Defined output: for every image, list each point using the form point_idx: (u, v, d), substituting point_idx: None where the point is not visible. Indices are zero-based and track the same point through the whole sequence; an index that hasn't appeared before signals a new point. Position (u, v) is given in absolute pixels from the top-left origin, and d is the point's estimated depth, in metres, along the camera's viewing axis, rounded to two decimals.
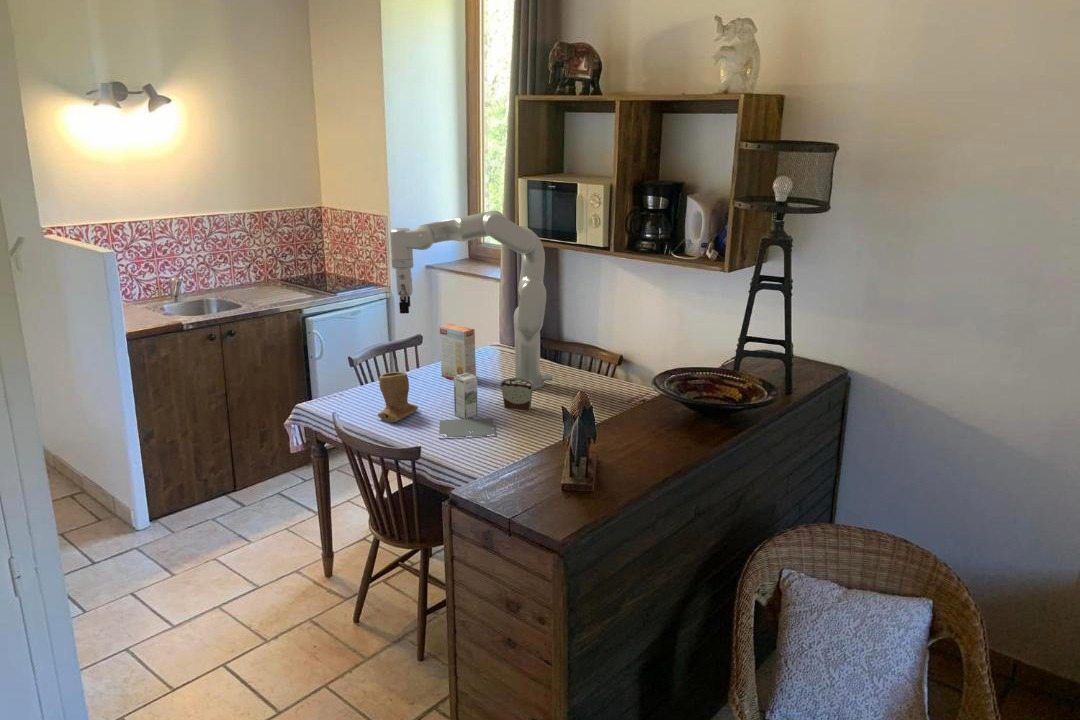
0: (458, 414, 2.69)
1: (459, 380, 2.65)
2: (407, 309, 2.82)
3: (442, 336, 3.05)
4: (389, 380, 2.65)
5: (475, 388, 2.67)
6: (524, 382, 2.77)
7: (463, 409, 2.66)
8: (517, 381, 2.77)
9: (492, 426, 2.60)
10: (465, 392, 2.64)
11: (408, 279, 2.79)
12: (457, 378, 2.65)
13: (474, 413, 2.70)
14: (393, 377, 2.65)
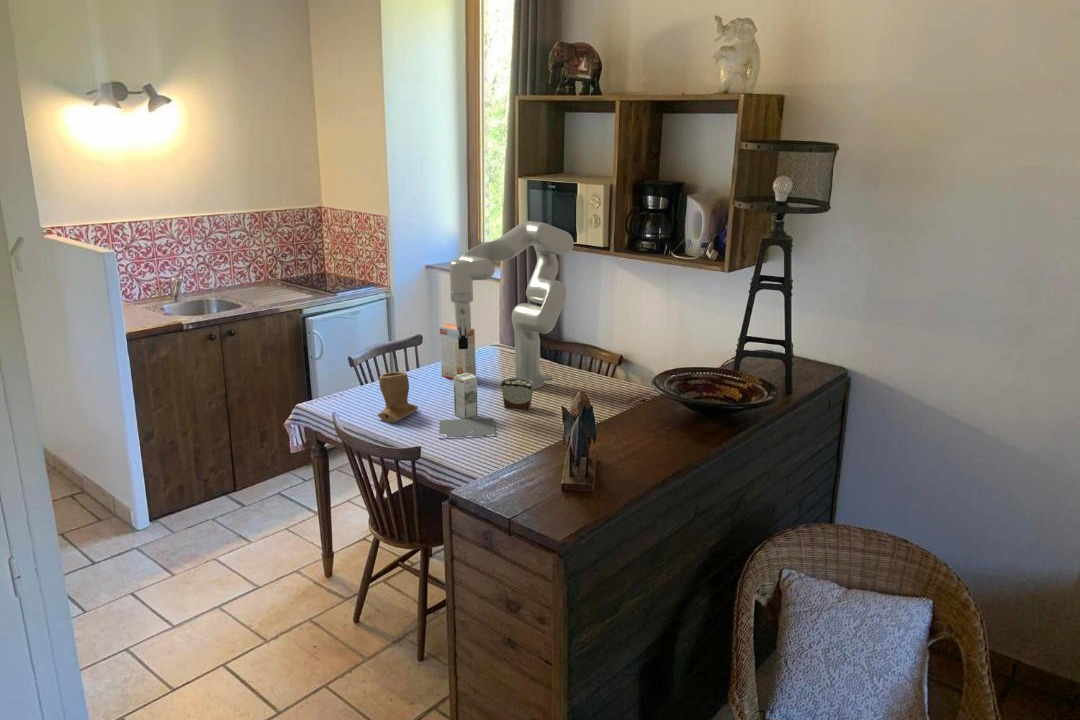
0: (458, 414, 2.69)
1: (459, 380, 2.65)
2: (466, 345, 2.72)
3: (442, 336, 3.05)
4: (389, 380, 2.65)
5: (475, 388, 2.67)
6: (524, 382, 2.77)
7: (463, 409, 2.66)
8: (517, 381, 2.77)
9: (492, 426, 2.60)
10: (465, 391, 2.64)
11: (468, 314, 2.65)
12: (457, 378, 2.65)
13: (474, 413, 2.70)
14: (393, 377, 2.65)
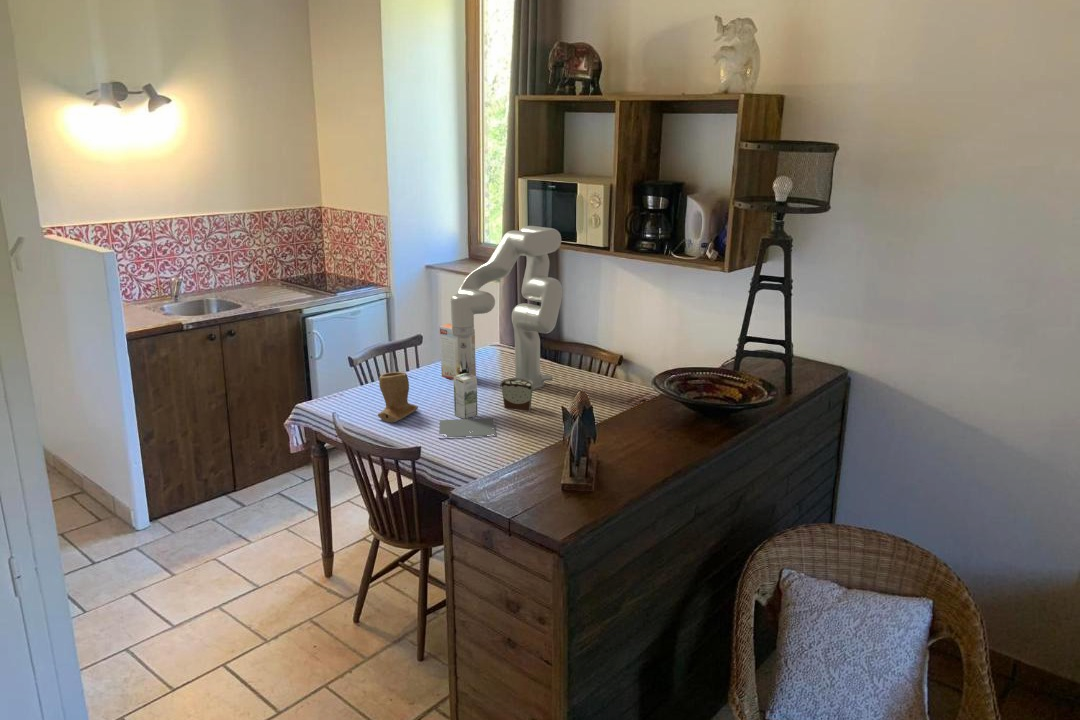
0: (458, 414, 2.69)
1: (459, 380, 2.65)
2: None
3: (442, 336, 3.05)
4: (389, 380, 2.65)
5: (475, 388, 2.67)
6: (524, 382, 2.77)
7: (463, 409, 2.66)
8: (517, 381, 2.77)
9: (492, 426, 2.60)
10: (465, 392, 2.64)
11: (469, 348, 2.65)
12: (457, 378, 2.65)
13: (474, 413, 2.70)
14: (393, 377, 2.65)
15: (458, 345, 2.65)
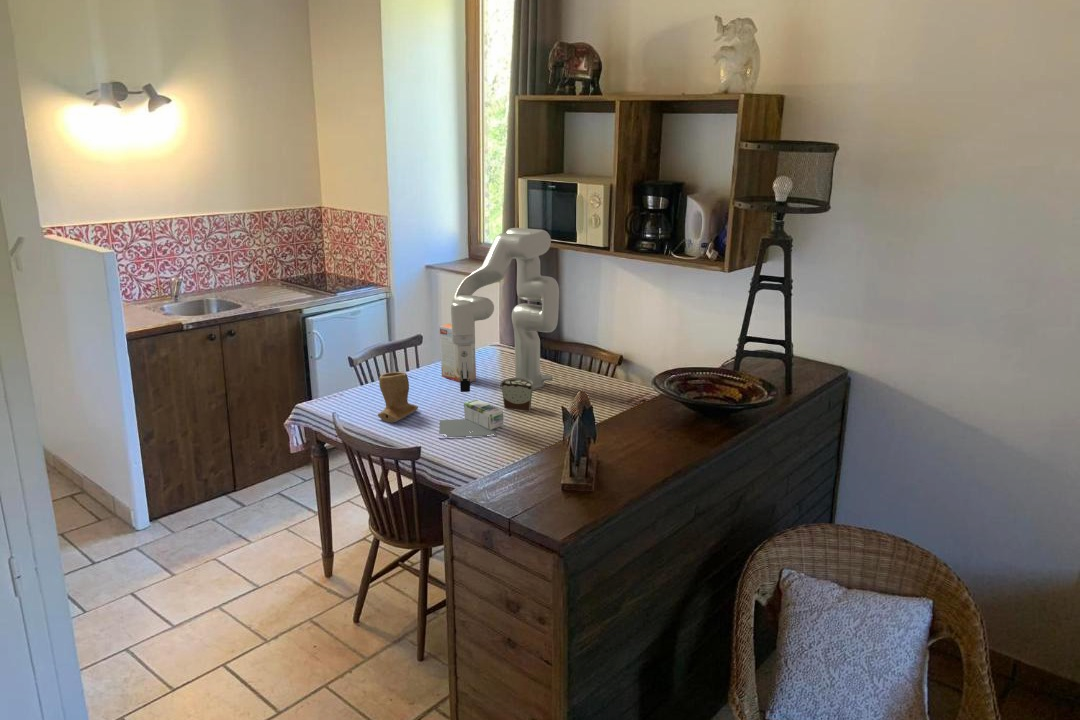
0: (465, 409, 2.65)
1: (489, 422, 2.57)
2: (468, 387, 2.63)
3: (442, 336, 3.05)
4: (389, 380, 2.65)
5: None
6: (524, 382, 2.77)
7: (471, 419, 2.64)
8: (517, 381, 2.77)
9: None
10: None
11: (470, 356, 2.56)
12: (489, 419, 2.56)
13: None
14: (393, 377, 2.65)
15: (459, 354, 2.56)
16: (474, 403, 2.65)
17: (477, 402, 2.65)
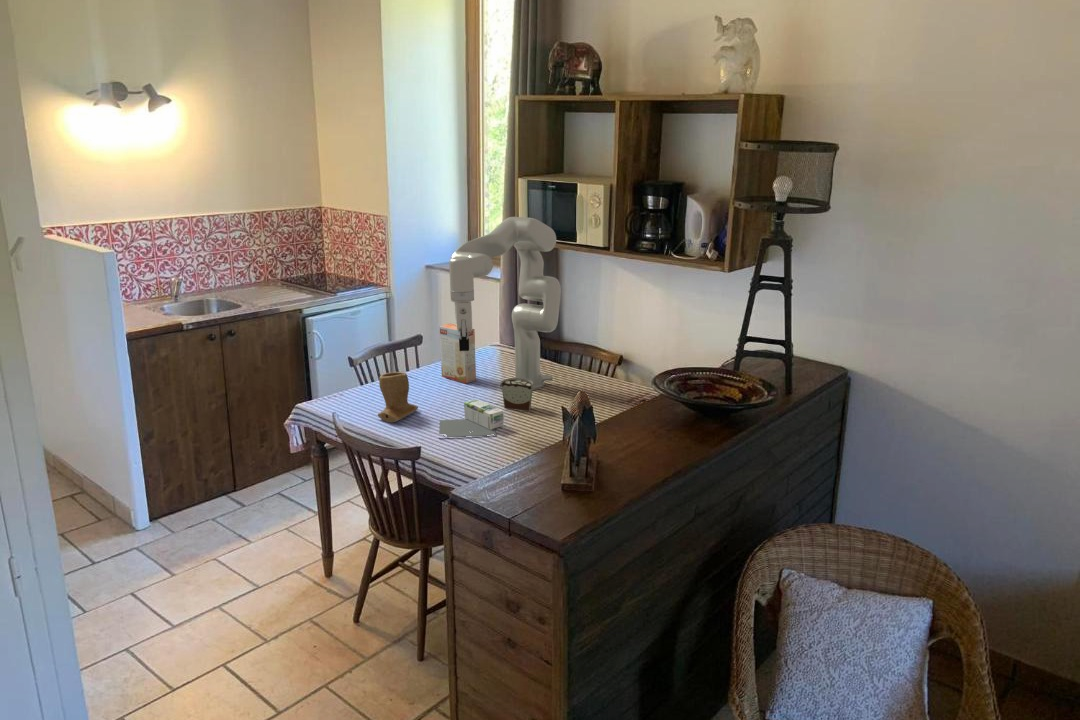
0: (465, 409, 2.65)
1: (489, 422, 2.57)
2: (467, 346, 2.58)
3: (442, 336, 3.05)
4: (389, 380, 2.65)
5: None
6: (524, 382, 2.77)
7: (471, 419, 2.64)
8: (517, 381, 2.77)
9: None
10: None
11: (469, 314, 2.51)
12: (489, 419, 2.56)
13: None
14: (393, 377, 2.65)
15: (457, 311, 2.50)
16: (475, 403, 2.65)
17: (478, 402, 2.65)
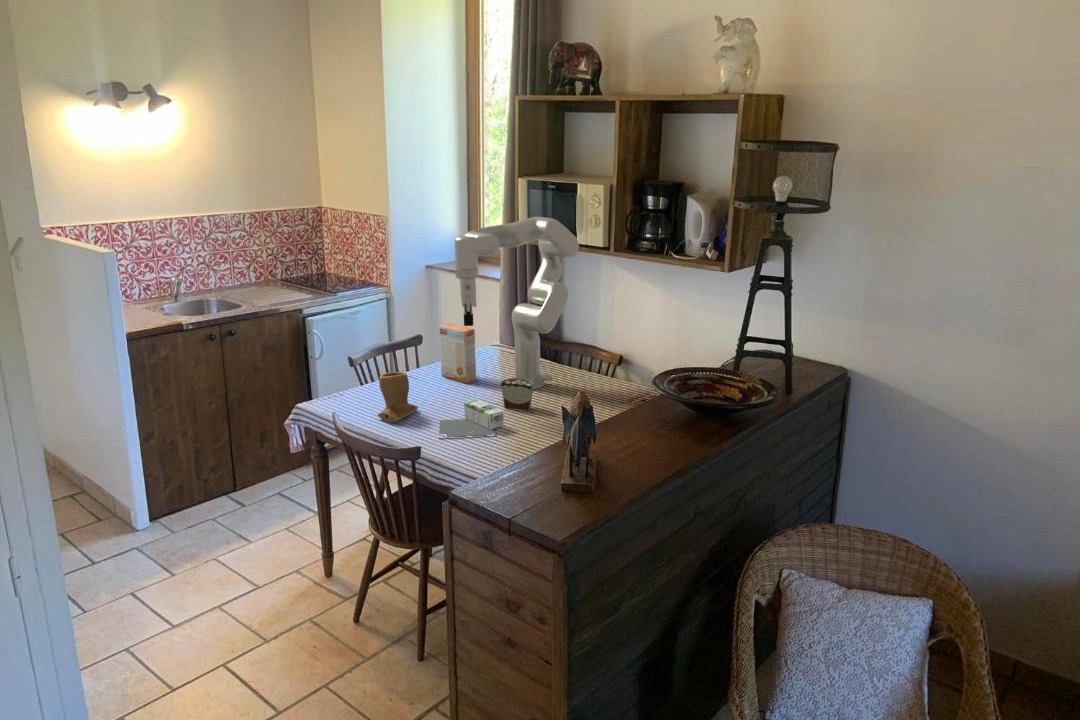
0: (465, 409, 2.65)
1: (489, 422, 2.57)
2: (472, 321, 2.72)
3: (442, 336, 3.05)
4: (389, 380, 2.65)
5: None
6: (524, 382, 2.77)
7: (471, 419, 2.64)
8: (517, 381, 2.77)
9: None
10: None
11: (473, 290, 2.65)
12: (489, 419, 2.56)
13: None
14: (393, 377, 2.65)
15: (462, 287, 2.64)
16: (475, 403, 2.65)
17: (478, 402, 2.65)
